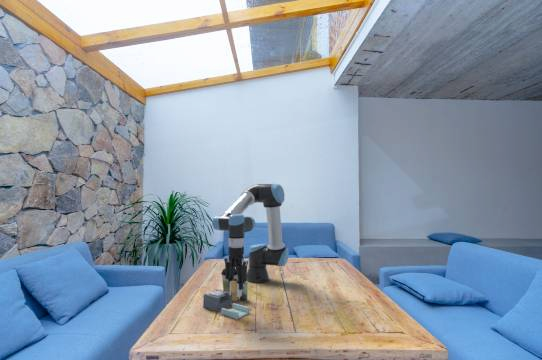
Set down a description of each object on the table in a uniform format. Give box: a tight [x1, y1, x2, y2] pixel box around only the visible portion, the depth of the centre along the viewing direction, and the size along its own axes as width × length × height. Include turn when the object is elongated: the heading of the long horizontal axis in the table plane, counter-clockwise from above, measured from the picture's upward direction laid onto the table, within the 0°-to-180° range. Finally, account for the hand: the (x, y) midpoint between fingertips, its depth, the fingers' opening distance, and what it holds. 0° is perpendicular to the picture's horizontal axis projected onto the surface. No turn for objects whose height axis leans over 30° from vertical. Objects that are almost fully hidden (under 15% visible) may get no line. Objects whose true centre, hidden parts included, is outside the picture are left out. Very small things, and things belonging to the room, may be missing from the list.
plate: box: [208, 289, 226, 298], centre depth 160 cm, size 6×6×2 cm
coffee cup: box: [221, 267, 238, 292], centre depth 174 cm, size 10×10×15 cm
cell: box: [231, 278, 240, 301], centre depth 150 cm, size 4×4×10 cm
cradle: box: [202, 288, 232, 313], centre depth 160 cm, size 10×10×6 cm
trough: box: [220, 302, 251, 320], centre depth 151 cm, size 9×10×3 cm
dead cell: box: [239, 281, 248, 302], centre depth 170 cm, size 4×4×10 cm
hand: (235, 295), depth 151 cm, fingers closed on cell, 4 cm apart
